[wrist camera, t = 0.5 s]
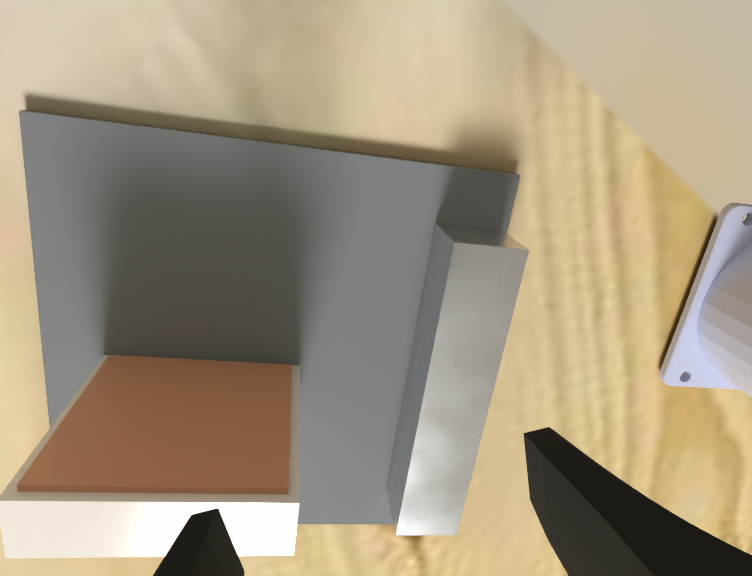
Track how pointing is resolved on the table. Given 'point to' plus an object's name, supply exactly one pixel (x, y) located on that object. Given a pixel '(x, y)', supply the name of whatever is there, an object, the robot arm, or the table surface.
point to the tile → (162, 461)
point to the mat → (247, 273)
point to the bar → (451, 374)
